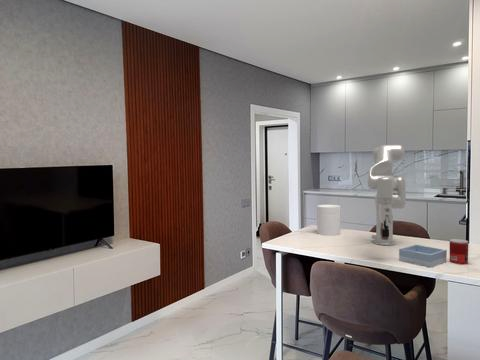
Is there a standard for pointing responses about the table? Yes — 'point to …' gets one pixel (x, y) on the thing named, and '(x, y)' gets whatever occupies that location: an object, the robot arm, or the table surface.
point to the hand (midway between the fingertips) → (384, 235)
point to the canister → (328, 220)
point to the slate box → (422, 255)
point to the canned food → (458, 251)
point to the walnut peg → (381, 232)
